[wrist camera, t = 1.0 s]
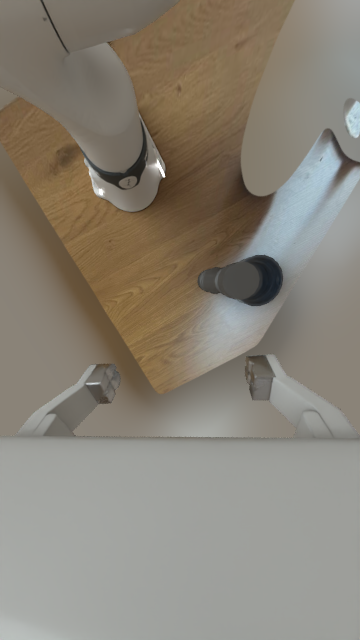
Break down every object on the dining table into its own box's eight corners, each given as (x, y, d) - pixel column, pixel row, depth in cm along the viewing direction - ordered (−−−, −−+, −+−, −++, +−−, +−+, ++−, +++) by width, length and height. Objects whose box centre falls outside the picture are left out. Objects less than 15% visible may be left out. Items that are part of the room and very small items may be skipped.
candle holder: (223, 278, 51) (269, 277, 27) (209, 295, 52) (241, 309, 28) (207, 264, 50) (240, 250, 26) (193, 282, 51) (212, 284, 27)
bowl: (222, 266, 50) (228, 264, 45) (266, 251, 50) (277, 248, 45) (233, 309, 53) (240, 312, 48) (275, 295, 53) (286, 297, 47)
